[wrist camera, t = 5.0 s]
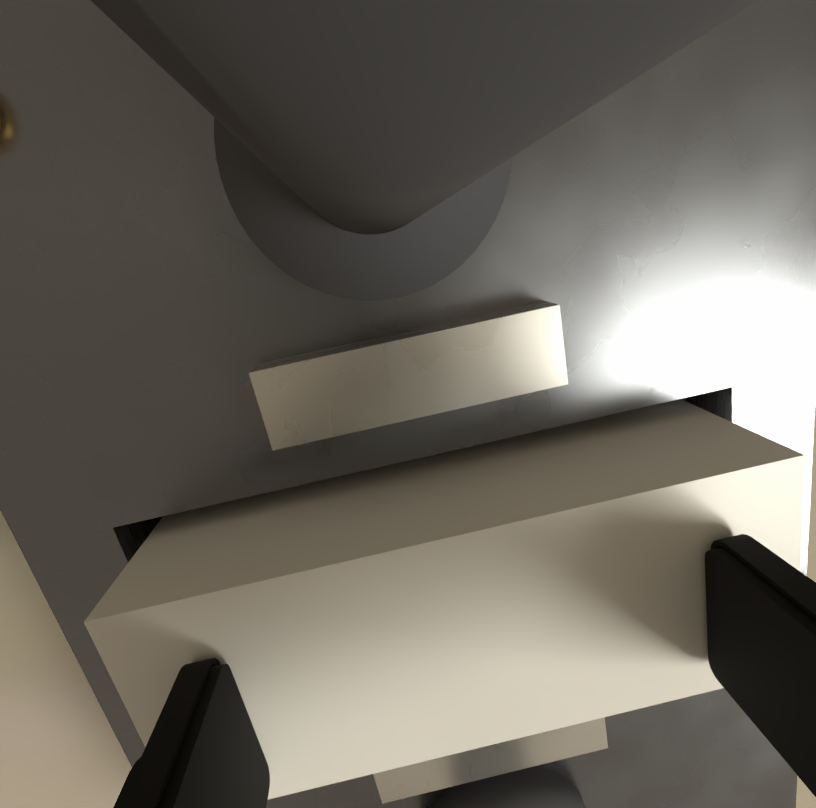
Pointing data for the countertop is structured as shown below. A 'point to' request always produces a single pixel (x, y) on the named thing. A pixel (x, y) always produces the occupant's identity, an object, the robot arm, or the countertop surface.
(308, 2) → the dark grey upright post
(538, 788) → the black toggle lever
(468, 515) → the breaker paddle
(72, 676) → the countertop surface
